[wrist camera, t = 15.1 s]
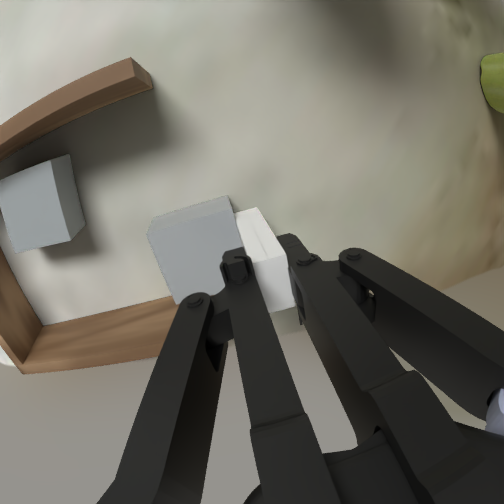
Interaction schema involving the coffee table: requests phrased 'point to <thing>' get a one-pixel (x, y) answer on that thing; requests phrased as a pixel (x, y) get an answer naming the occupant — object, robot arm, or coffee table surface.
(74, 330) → the frame
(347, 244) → the coffee table surface
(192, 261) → the tile
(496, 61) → the plant pot
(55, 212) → the tile
